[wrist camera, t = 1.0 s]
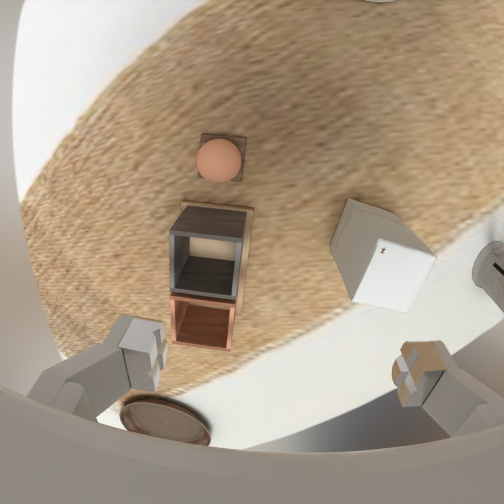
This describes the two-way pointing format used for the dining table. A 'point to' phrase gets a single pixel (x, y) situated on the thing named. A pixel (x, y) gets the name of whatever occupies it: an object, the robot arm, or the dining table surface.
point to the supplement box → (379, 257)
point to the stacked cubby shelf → (208, 272)
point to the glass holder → (491, 272)
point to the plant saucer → (164, 421)
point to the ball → (218, 161)
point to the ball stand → (237, 141)
